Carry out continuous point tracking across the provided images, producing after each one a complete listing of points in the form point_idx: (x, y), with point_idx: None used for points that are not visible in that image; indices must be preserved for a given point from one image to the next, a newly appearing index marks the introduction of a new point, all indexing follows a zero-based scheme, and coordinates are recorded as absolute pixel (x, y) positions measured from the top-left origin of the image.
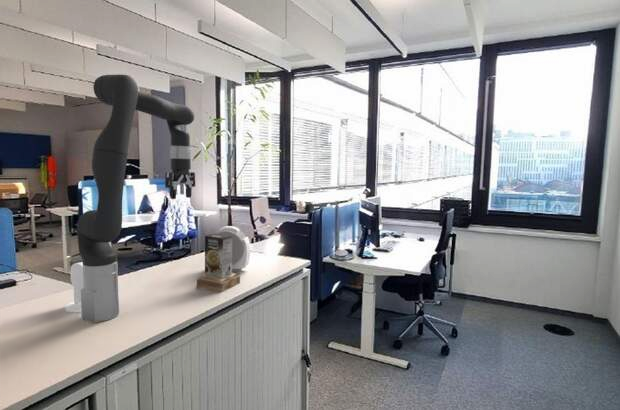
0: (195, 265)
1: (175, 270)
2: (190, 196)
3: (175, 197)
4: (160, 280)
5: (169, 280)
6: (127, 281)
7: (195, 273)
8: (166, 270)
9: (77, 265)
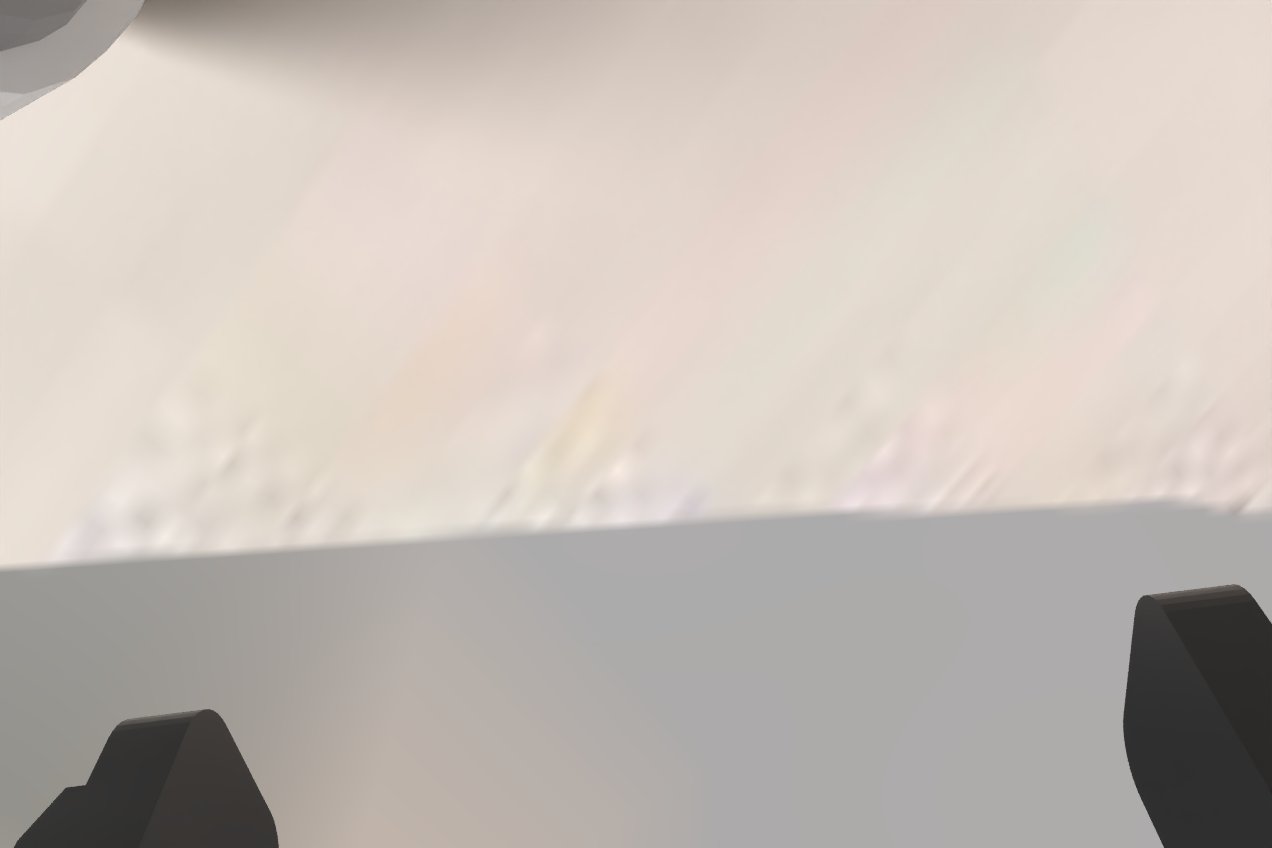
0: (193, 285)
1: (462, 300)
2: (151, 733)
3: (1202, 624)
4: (781, 136)
5: (727, 58)
6: (970, 353)
7: (370, 33)
8: (526, 367)
9: None
